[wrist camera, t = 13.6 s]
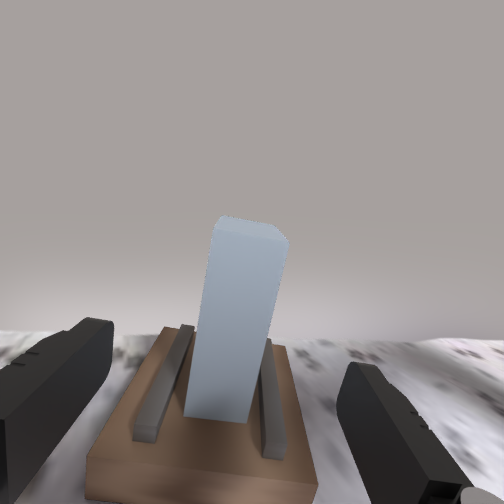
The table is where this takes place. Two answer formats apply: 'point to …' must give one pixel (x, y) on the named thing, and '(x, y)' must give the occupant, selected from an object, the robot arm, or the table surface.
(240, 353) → the light blue rectangular block
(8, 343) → the table surface
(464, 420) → the table surface
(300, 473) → the display stand
